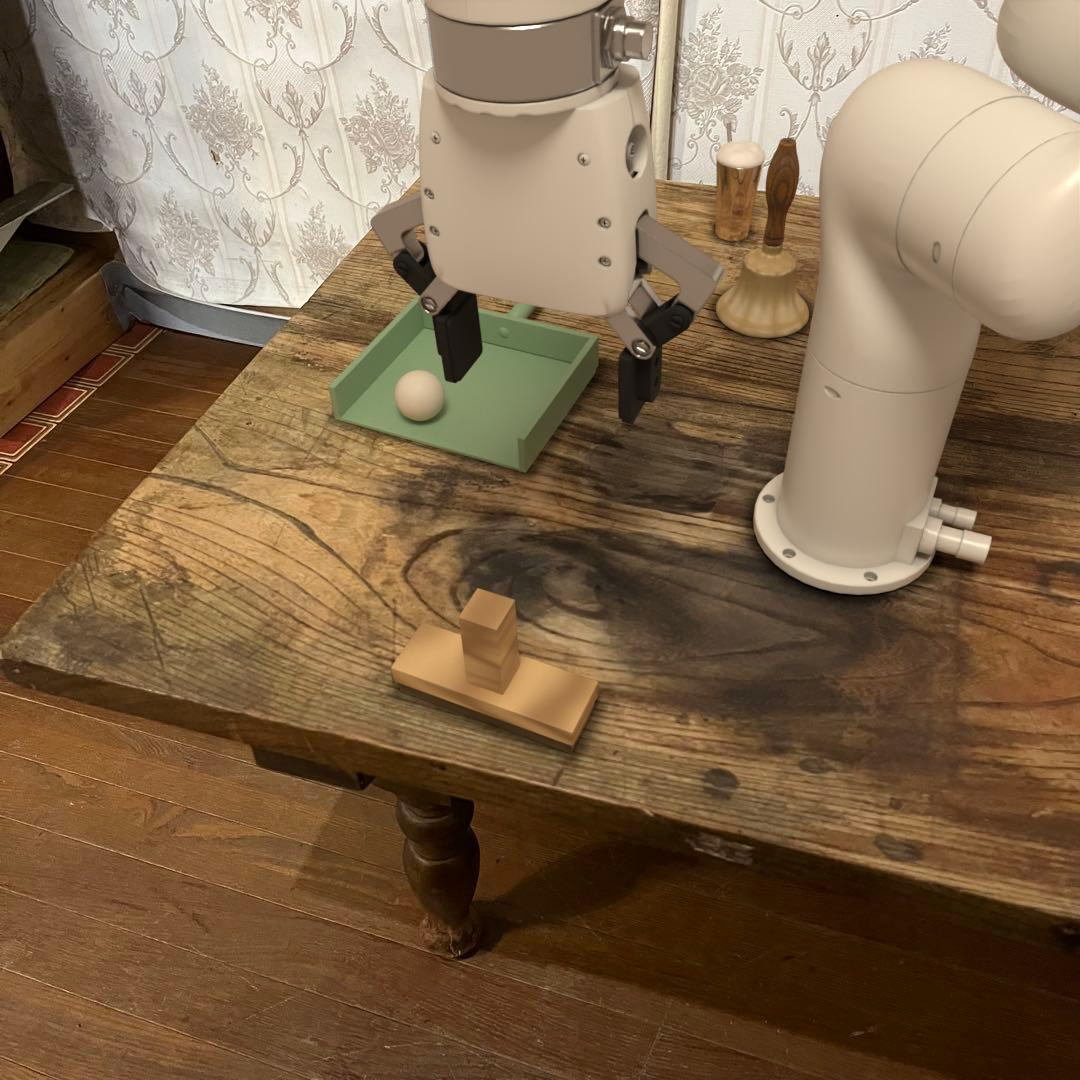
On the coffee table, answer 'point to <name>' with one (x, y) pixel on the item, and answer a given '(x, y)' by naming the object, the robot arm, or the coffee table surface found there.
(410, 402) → the white ball
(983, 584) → the coffee table surface
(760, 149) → the milkshake
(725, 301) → the hand bell
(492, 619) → the brush
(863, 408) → the robot arm
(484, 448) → the dustpan
